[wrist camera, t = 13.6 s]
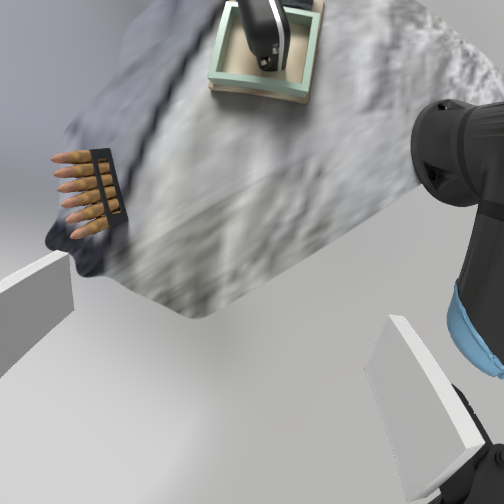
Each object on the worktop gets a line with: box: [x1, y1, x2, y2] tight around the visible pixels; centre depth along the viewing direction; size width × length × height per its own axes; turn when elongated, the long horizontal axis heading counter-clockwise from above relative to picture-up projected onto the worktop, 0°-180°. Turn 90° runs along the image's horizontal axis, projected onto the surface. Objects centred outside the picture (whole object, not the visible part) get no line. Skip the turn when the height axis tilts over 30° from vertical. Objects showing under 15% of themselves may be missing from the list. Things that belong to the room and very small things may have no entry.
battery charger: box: [237, 0, 291, 72], centre depth 23 cm, size 7×4×11 cm, turn 13°
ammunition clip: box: [51, 148, 128, 239], centre depth 30 cm, size 11×2×12 cm, turn 14°
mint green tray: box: [207, 0, 324, 104], centre depth 26 cm, size 12×17×6 cm
